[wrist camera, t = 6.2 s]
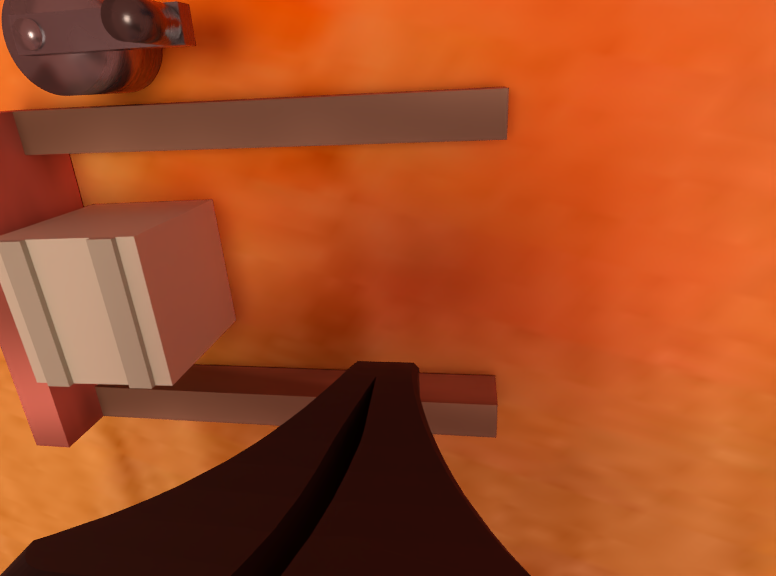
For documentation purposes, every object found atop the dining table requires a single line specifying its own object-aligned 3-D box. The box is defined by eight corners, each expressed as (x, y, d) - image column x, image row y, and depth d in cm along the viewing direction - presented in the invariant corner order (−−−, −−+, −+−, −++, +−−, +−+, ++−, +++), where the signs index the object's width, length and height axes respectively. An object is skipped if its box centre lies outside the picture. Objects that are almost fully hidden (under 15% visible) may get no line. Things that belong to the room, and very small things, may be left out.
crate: (236, 319, 21) (169, 389, 17) (127, 319, 22) (32, 386, 17) (213, 199, 20) (129, 238, 15) (94, 203, 20) (-22, 242, 16)
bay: (494, 405, 21) (498, 475, 17) (104, 388, 24) (36, 445, 20) (504, 86, 16) (514, 89, 13) (22, 109, 19) (-83, 117, 16)
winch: (249, 86, 18) (155, 91, 12) (88, 94, 19) (-62, 102, 13) (234, -22, 16) (124, -67, 11) (63, -7, 17) (-112, -43, 12)
